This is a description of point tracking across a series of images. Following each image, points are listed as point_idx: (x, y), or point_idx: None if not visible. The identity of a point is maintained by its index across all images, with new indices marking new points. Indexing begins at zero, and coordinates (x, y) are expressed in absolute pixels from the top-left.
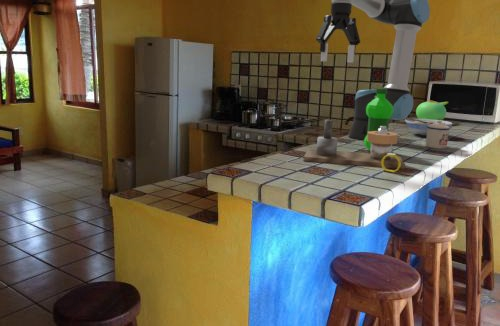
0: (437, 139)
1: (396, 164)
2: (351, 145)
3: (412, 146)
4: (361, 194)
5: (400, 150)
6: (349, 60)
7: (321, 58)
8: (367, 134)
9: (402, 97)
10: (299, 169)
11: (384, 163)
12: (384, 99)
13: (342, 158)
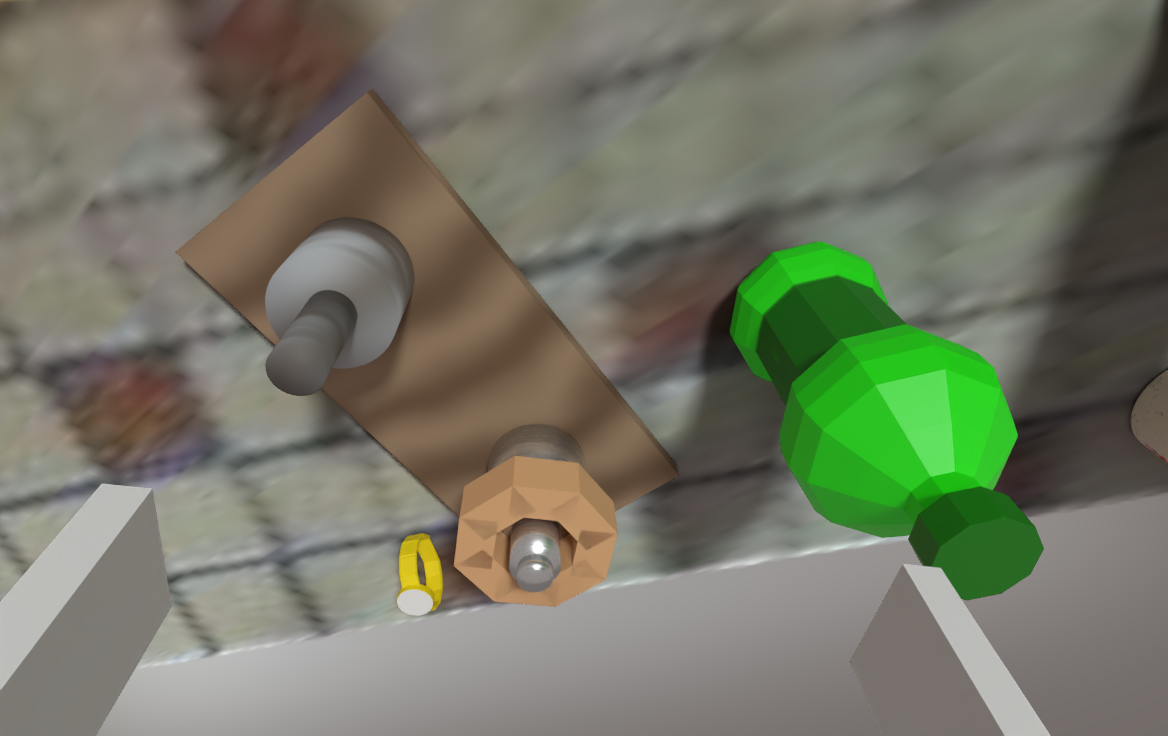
0: (1166, 453)
1: None
2: (866, 82)
3: (1115, 325)
4: None
5: None
6: (894, 643)
7: (69, 550)
8: (511, 476)
9: None
10: (57, 354)
11: None
12: (911, 529)
13: (357, 382)
